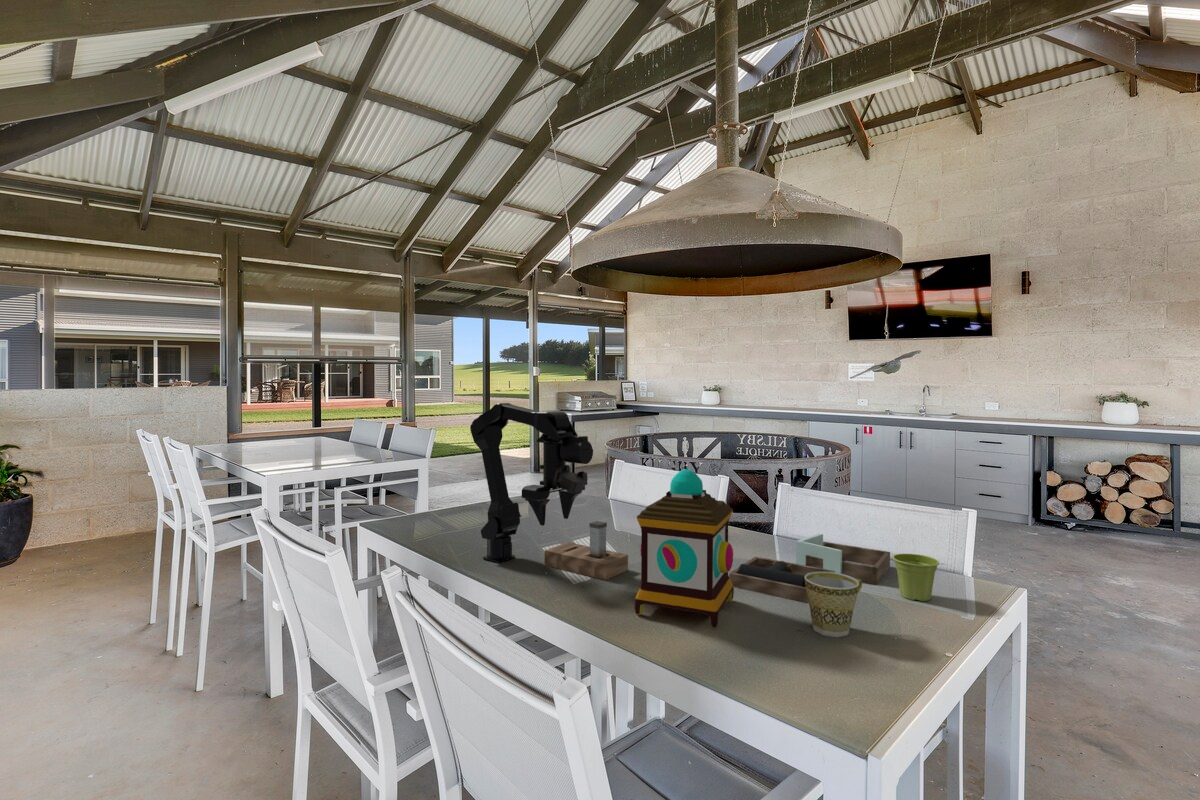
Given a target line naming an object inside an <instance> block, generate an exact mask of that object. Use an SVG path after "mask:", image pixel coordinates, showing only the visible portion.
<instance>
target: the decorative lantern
mask: <svg viewBox="0 0 1200 800" xmlns="http://www.w3.org/2000/svg"><path fill="white" fill-rule="evenodd" d="M703 487H704V485H703V480H702V478H700V477H699V475H698V474H697V473H696V472H694V471H693V470H691V469H687V468H686V469H685V468H684V469H682V470H680V471H678V472H677V473H676V474H675V475H674V476H673V477H672V479H671V480H670V488H669V491H667V492H666V493H665V494H666V495H664V496H662V497H661V498H660V499H658V500H656V501H654V502H653V503H651V504H649V505H648V506H646V507H645V509H643V510H642V511H640V513H639V514H637V516H636V521H637V522H638V526H639V528H640V529H641V531H640V533H641V540H640V541H641V544H640V557H641V563H640V564H641V565H640V567H641V574H640V579H641V582H640V587H639V589H638V592H637V594H636V596H635V598H634V612H635V615H637V616H641V615H642V614H643V610H644V605H650V606H656V607H662V608H667V609H673V610H679V611H680V610H681V611H685V612H686V611H687V612H690V613H691V612H692V613H699V614H704V615H706V616H708V618H709V622H710V623H709V625H710V627H711V628H712V629H716V628H717V626H718V623H719V622H718V621H719V614H720V611H721V609H723V607H724V605H725V604H726V602H729V601H730V602H732V601H733V599H734V594H735V593H734V591H735V589H734V588H735V587H733V584H732V582H731V580H730V578H729V573H730V571H731V569H732V567H733V562H734V549H733V546H732V544H731V543H729V521H730V519H731V517H732V515H733V512H734V510H733V508H732V507H731V506H730V505H729V504H726V502H725V501H724V500H720V499H719V500H718V499H717V500H716V498H715V497H712V496H711V494H709V493H707V490H706V489H704V488H703Z"/></svg>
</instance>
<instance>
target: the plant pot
mask: <svg viewBox="0 0 1200 800" xmlns="http://www.w3.org/2000/svg"><path fill="white" fill-rule="evenodd" d="M892 559H893V561H894V566H895V567H896V572H897V573H896V574H897V580H898V586H899V587H898V589H899V593H900V595H901V597H903V598H905V599H907V600H911V601H914V600H918V601H920V602H926V601H930V600H932V599H931V598H932V592H933V587H934V580H935V574H936V571H937V570H938V566H939V565H940V561H939V560H938V559H937V558H934V557H931V556H927V555H923V554H918V553H917V554H916V553H896V554H893V555H892Z"/></svg>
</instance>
